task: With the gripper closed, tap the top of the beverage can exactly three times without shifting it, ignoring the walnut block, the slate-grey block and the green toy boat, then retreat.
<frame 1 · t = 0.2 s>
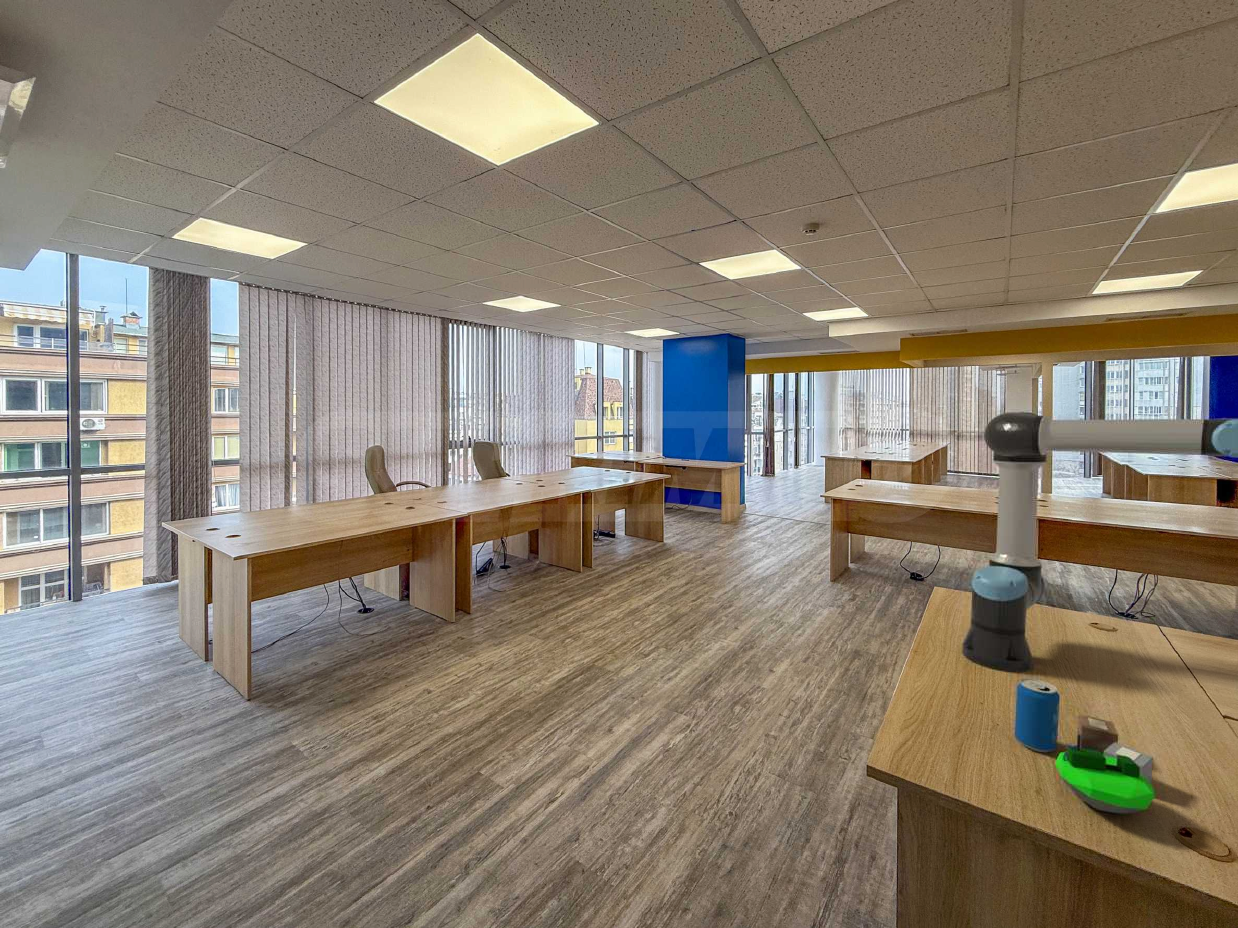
green toy boat: (1102, 805, 87), on the table
beverage can: (1035, 745, 103), on the table
walnut block: (1096, 749, 102), on the table
slate block: (1126, 780, 93), on the table
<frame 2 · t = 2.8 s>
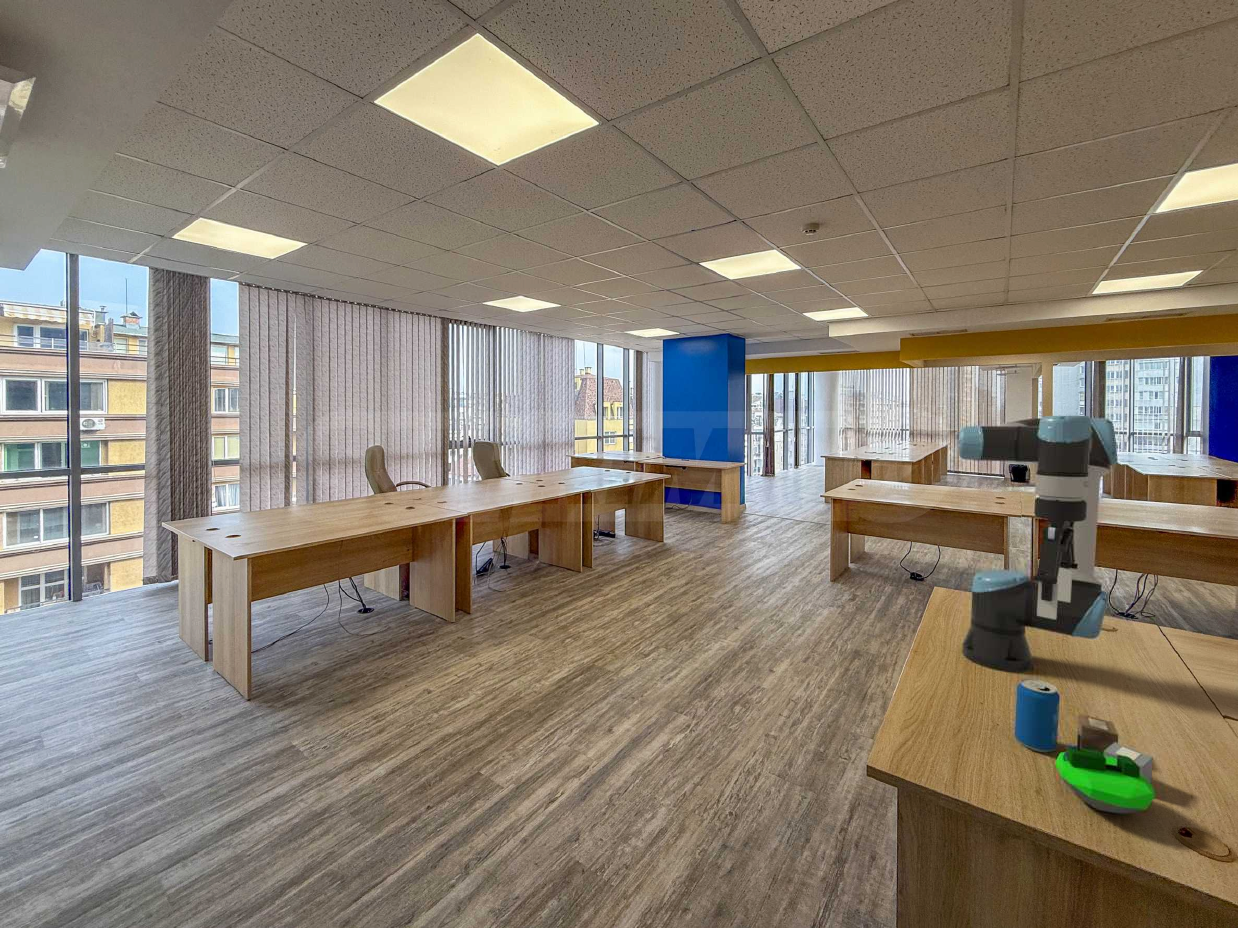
hand: (1054, 608, 101), 27 cm above the table, fingers open, 13 cm apart
nothing on the table moved.
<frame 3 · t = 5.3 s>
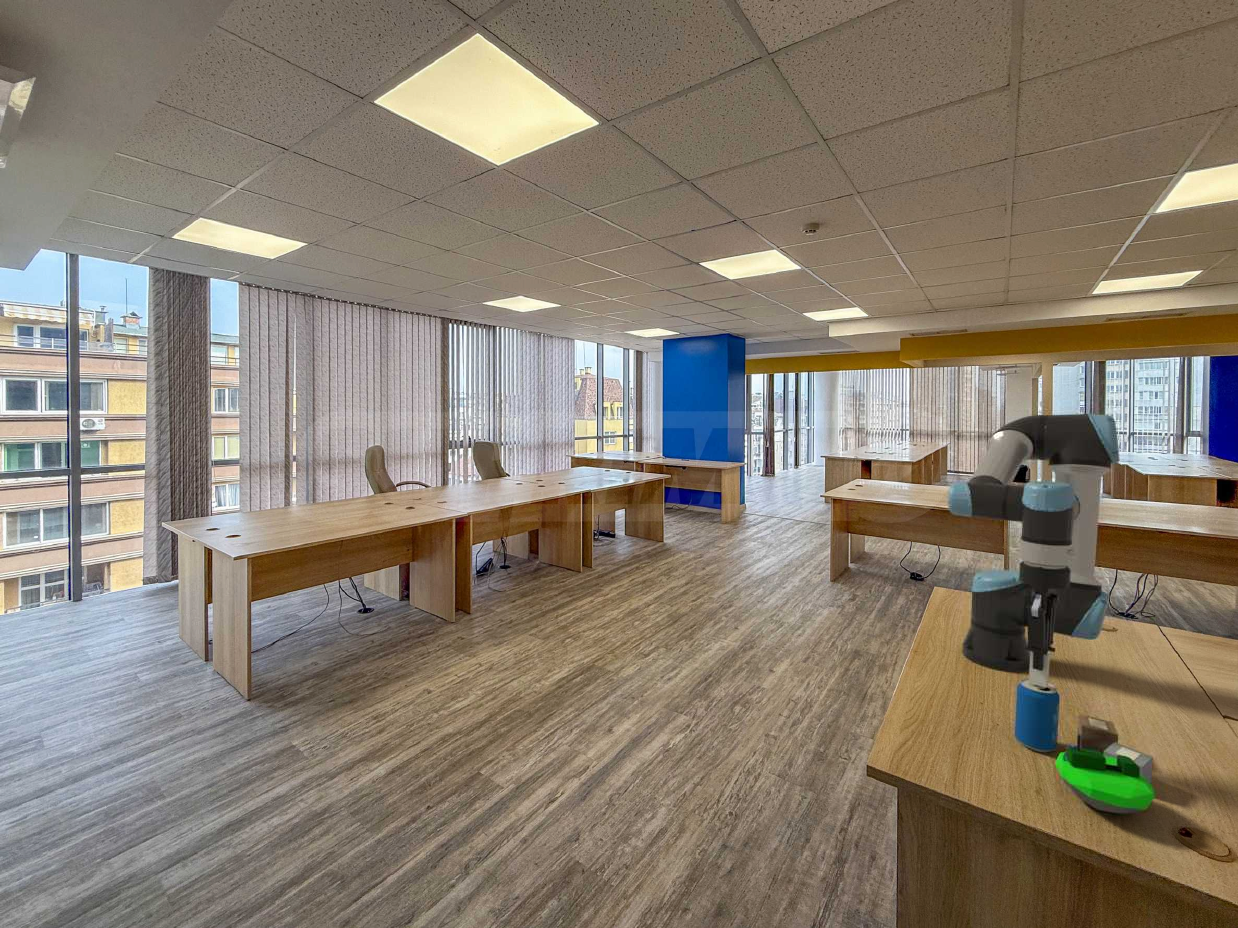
hand: (1038, 683, 102), 12 cm above the table, fingers closed
beverage can: (1035, 745, 103), on the table, touching gripper
everything else where it was.
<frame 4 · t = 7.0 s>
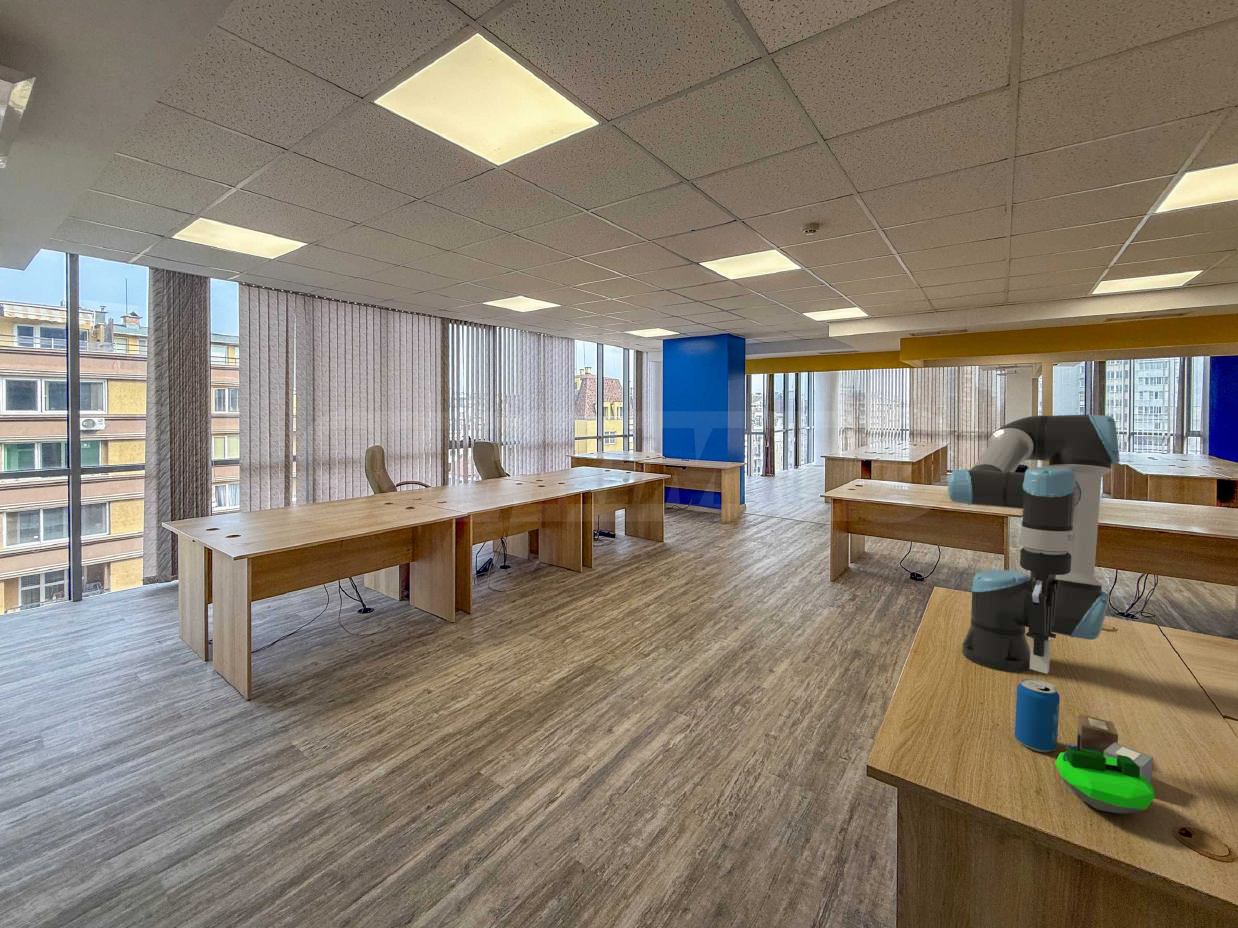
hand: (1039, 669, 102), 15 cm above the table, fingers closed
beverage can: (1035, 745, 103), on the table
everything else where it was.
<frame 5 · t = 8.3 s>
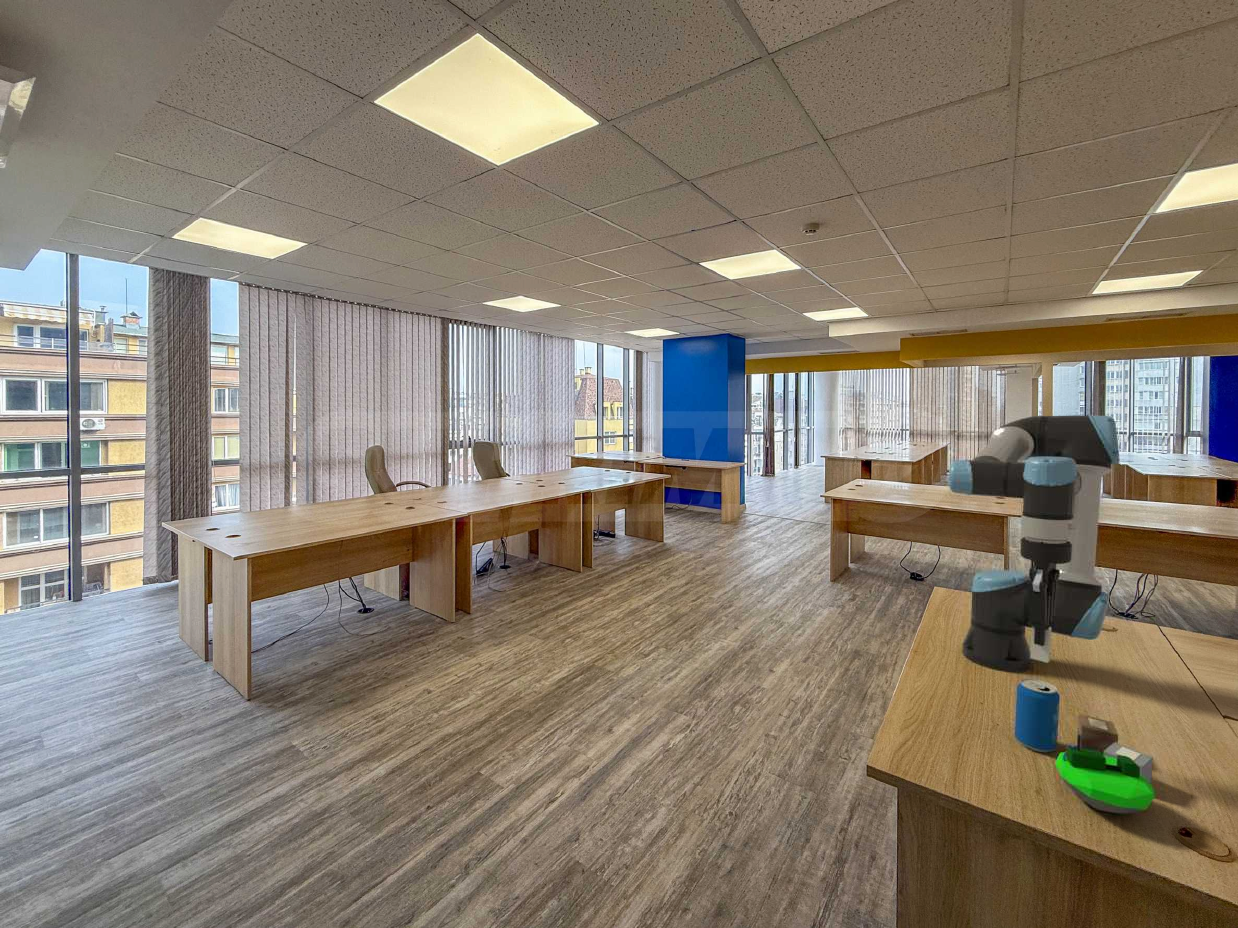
hand: (1039, 659, 102), 17 cm above the table, fingers closed
nothing on the table moved.
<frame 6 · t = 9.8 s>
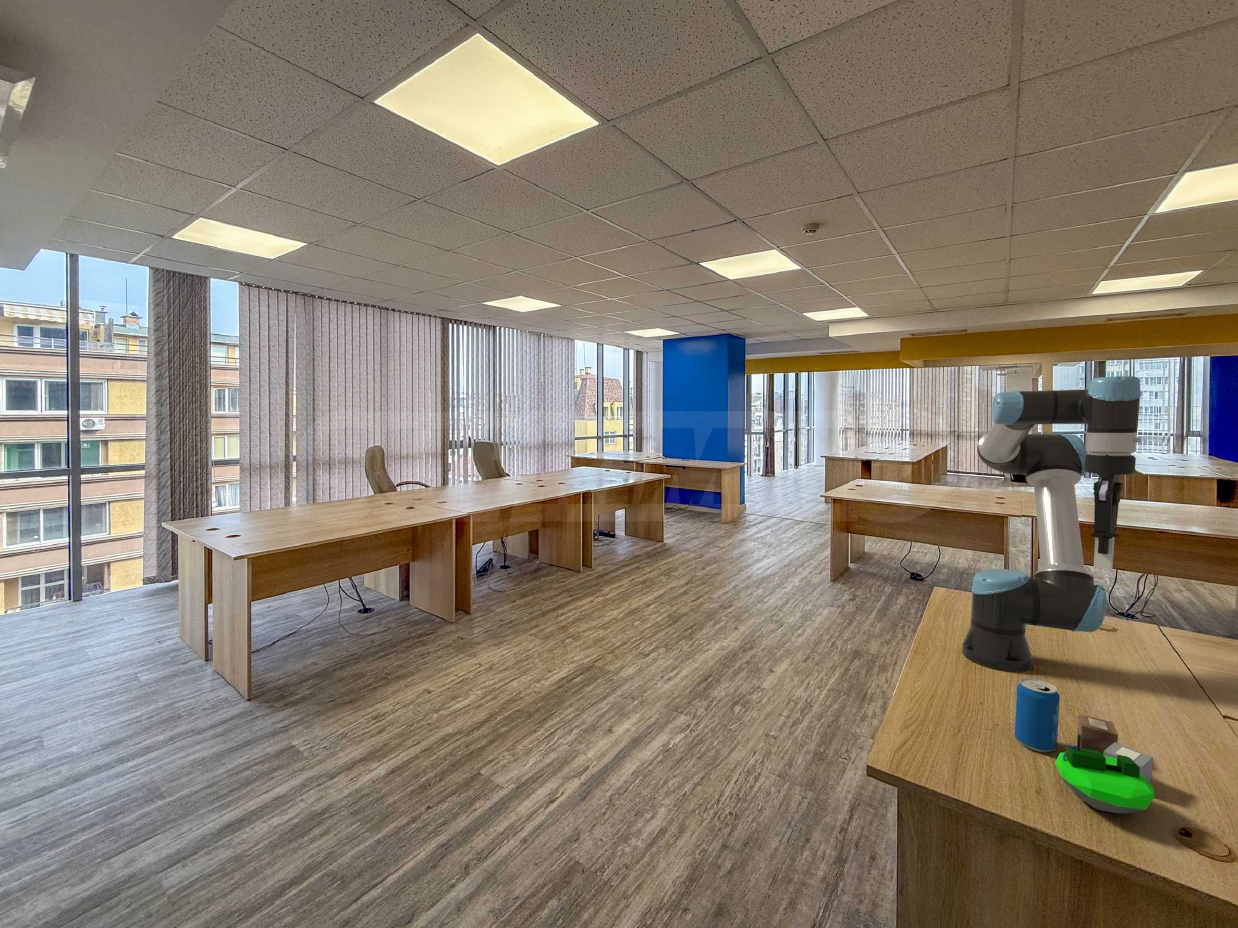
hand: (1102, 568, 109), 32 cm above the table, fingers closed
nothing on the table moved.
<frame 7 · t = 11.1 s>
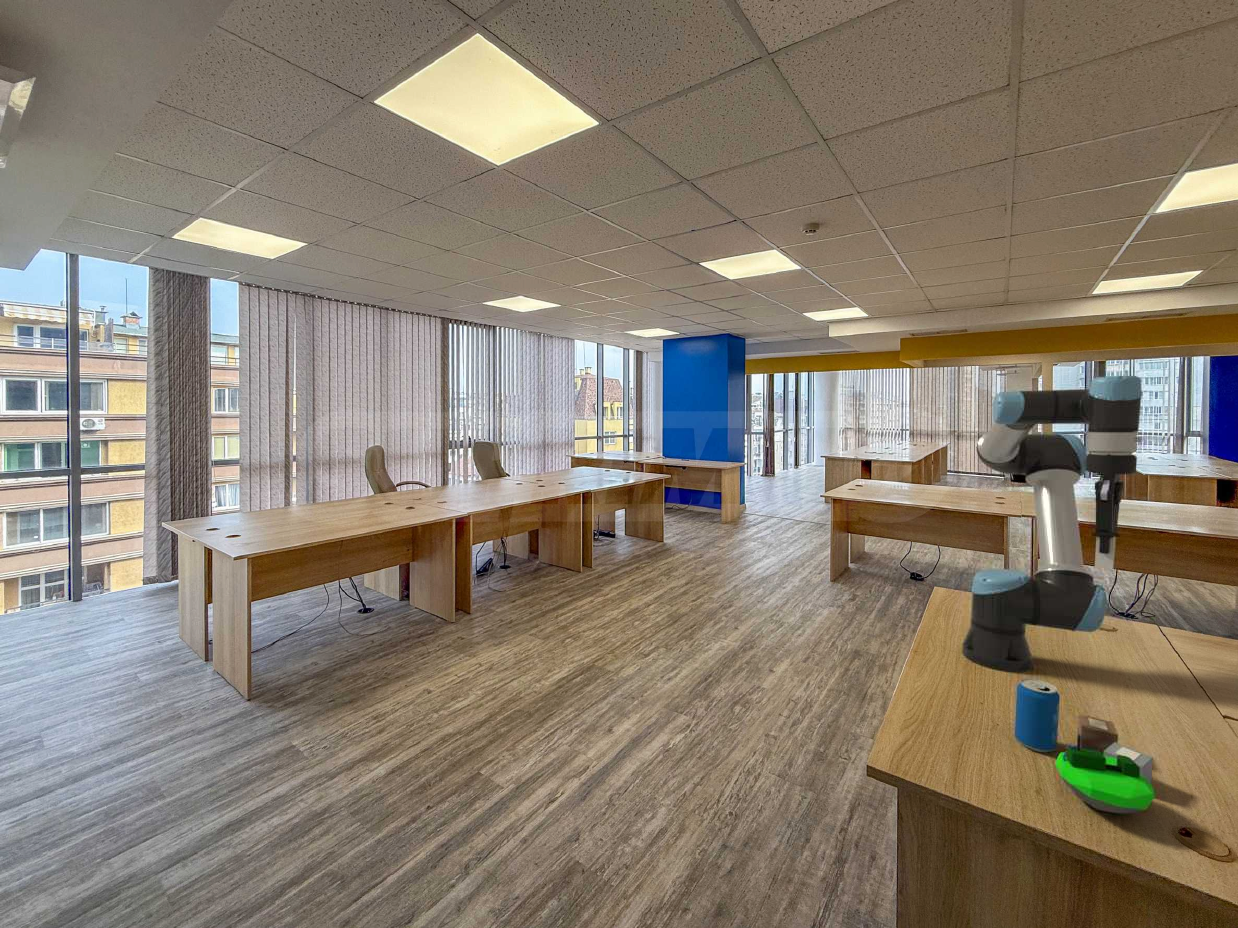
hand: (1104, 567, 109), 32 cm above the table, fingers closed
nothing on the table moved.
at the end: beverage can moved 0.2 cm from its start; beverage can tilted 0°; beverage can touching table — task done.
